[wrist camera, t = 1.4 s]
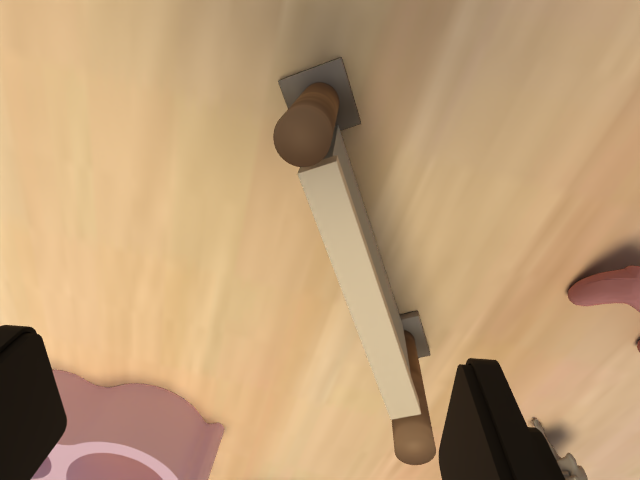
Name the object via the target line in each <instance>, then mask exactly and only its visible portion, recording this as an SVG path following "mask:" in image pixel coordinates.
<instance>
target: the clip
mask: <svg viewBox="0 0 640 480" xmlns="http://www.w3.org/2000/svg"><path fill="white" fill-rule="evenodd" d="M52 371H53V375H54V378H55V381H56V384H57V387H58V391H59V394H60V397H61V400H62V403H63V407H64V410H65V413H66V416H67V426H66V430H65V432H64V434H63V436H62V437H61V438H60V440H59V441H58V443H57V444H56V445H55V447H54V448H53V450H52V451H51V452H50V454H49V455H48V456H47V458H46V459H45V461H44V462H43V463H42V465H41V466H40V467H39V469H38V470H37V472H36V473H35V474H34V476H33V477H32V478H31V480H208V478H209V475H210V472H211V469H212V466H213V463H214V460H215V457H216V454H217V451H218V448H219V445H220V442H221V439H222V436H223V432H224V427H223V425H222V424H220V423H213V424H208V423H206V422H205V421H204V420H203V418H202V416H201V415H200V414H199V412H198V411H197V410H196V409H195V408H194V407H193V406H192V405H191V404H190V403H189V402H187V401H186V400H185V399H183V398H182V397H180V396H178V395H177V394H175V393H173V392H171V391H168V390H166V389H163V388H160V387H157V386H152V385H147V384H123V385H119V386H115V387H101V386H97V385H94V384H92V383H90V382H88V381H86V380H85V379H83V378H81V377H79V376H77V375H75V374H72V373H69V372H65V371H60V370H52Z"/></svg>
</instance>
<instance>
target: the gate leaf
mask: <svg viewBox="0 0 640 480" xmlns="http://www.w3.org/2000/svg"><path fill="white" fill-rule="evenodd" d="M298 177H299V179H300V182H301V185H302V187H303V190H304V192H305V195H306V198H307V200H308V203H309V206H310V208H311V211H312V214H313V216H314V219H315V221H316V224H317V227H318V229H319V232H320V235H321V237H322V240H323V243H324V245H325V248H326V250H327V253H328V256H329V258H330V261H331V264H332V266H333V269H334V272H335V274H336V277H337V279H338V282H339V285H340V287H341V290H342V293H343V295H344V298H345V301H346V303H347V306H348V309H349V311H350V314H351V316H352V319H353V322H354V324H355V327H356V330H357V332H358V335H359V338H360V340H361V343H362V345H363V348H364V351H365V353H366V356H367V359H368V361H369V364H370V367H371V369H372V372H373V374H374V377H375V380H376V382H377V385H378V388H379V390H380V393H381V396H382V398H383V401H384V403H385V406H386V409H387V411H388V414H389V417H390V419H391V420H392V419H397V418H403V417H408V416H414V415H419V414H421V410H420V404H419V399H418V396H417V393H416V390H415V387H414V384H413V381H412V378H411V373H410V366H409V360H408V354H407V348H406V342H405V336H404V329H403V324H402V321H401V318H400V315H399V312H398V309H397V306H396V303H395V299H394V296H393V293H392V290H391V287H390V284H389V281H388V278H387V275H386V272H385V268H384V265H383V262H382V259H381V256H380V253H379V250H378V247H377V244H376V241H375V237H374V234H373V231H372V228H371V225H370V222H369V219H368V216H367V213H366V210H365V206H364V203H363V200H362V197H361V194H360V191H359V188H358V185H357V182H356V179H355V175H354V172H353V169H352V166H351V163H350V160H349V157H348V154H347V151H346V148H345V144H344V141H343V138H342V135H341V132H340V129H339V126H338V125H337V126H335V128H334V132H333V137H332V141H331V146H330V149H329V151H328V153H327V155H326V156H325V158H324V159H323V160H322V161H320V162H319V163H317V164H315V165H313V166H309V167H300V169H299V171H298Z"/></svg>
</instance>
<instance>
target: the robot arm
mask: <svg viewBox="0 0 640 480" xmlns="http://www.w3.org/2000/svg"><path fill="white" fill-rule="evenodd" d="M66 426H67V416H66V413H65V410H64V407H63V403H62V400H61V397H60V394H59V391H58V387H57V384H56V381H55V378H54V375H53V371H52V368H51V365H50V362H49V358H48V355H47V352H46V349H45V346H44V342H43V339H42V337H41V336H40V335H39V334H37V333H36V331H35V330H34V329H33V328H32V327H26V326H12V325H3V326H0V480H31V478H32V477H33V476H34V474H35V473H36V472H37V470H38V469H39V467H40V466H41V465H42V463H43V462H44V461H45V459H46V458H47V456H48V455H49V454H50V452H51V451H52V450H53V448H54V447H55V445H56V444H57V443H58V441H59V440H60V438H61V437H62V436H63V434H64V432H65V430H66ZM439 466H440V471H441V476H442V480H565V478H564V475H563V473H562V471H561V469H560V467H559V465H558V463H557V461H556V459H555V457H554V455H553V453H552V450H551V448H550V446H549V444H548V442H547V440H546V438H545V437H544V435H543V433H542V432H541V431H540V430H539V429H537V428H531V427H527V425H526V422H525V420H524V418H523V416H522V414H521V411H520V409H519V407H518V405H517V402H516V400H515V398H514V396H513V393H512V391H511V389H510V387H509V384H508V382H507V380H506V378H505V376H504V373H503V371H502V369H501V367H500V365H499V363H498V362H497V361H496V360H487V359H473V358H469V359H468V360H467V362H466V365H461V364H460V365H459V366H458V368H457V372H456V376H455V381H454V385H453V390H452V394H451V399H450V403H449V407H448V412H447V416H446V421H445V425H444V430H443V434H442V439H441V443H440V448H439Z"/></svg>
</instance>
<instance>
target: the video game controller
mask: <svg viewBox="0 0 640 480" xmlns="http://www.w3.org/2000/svg"><path fill="white" fill-rule="evenodd" d="M568 298H569V300H570V301H571V302H572V303H573V304H575V305H581V306H592V305H599V304H609V303H625V304H628V305H630V306H632V307H634V308H635V309H636V310H637V311H639V312H640V266H632V265H630V266H627V267H626V268H625V269H620V270H613V271H607V272H602V273H598V274H595V275H592V276H588V277H586V278H584V279H582V280H580V281H578V282H576V283H575V284H574V285H573V286H572V287H571V288H570V289H569V292H568ZM637 348H638V350H639V352H640V340H639V341H638V345H637Z"/></svg>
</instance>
